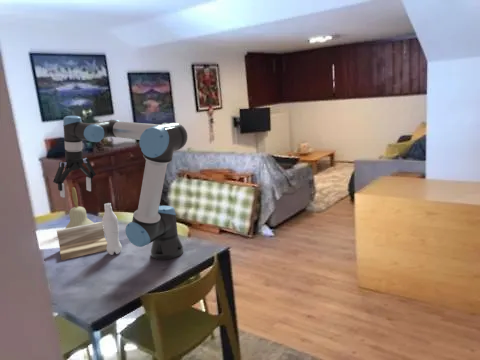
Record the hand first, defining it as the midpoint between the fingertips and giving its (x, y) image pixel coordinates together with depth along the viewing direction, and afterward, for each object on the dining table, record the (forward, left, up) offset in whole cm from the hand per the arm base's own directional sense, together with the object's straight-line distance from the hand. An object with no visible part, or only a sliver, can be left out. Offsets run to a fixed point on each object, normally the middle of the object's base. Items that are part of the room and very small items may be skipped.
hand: (76, 193), depth 194 cm
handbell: (+44, -1, -31) cm, 54 cm away
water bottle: (-7, -13, -31) cm, 34 cm away
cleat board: (+5, 0, -31) cm, 31 cm away
